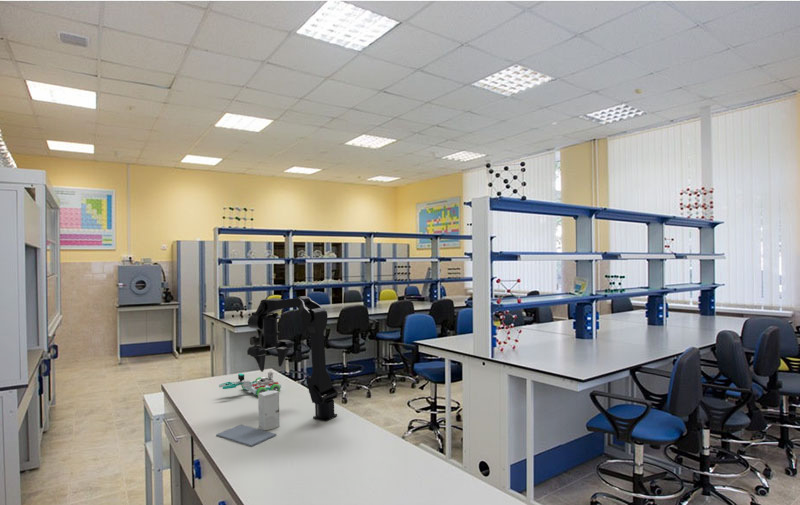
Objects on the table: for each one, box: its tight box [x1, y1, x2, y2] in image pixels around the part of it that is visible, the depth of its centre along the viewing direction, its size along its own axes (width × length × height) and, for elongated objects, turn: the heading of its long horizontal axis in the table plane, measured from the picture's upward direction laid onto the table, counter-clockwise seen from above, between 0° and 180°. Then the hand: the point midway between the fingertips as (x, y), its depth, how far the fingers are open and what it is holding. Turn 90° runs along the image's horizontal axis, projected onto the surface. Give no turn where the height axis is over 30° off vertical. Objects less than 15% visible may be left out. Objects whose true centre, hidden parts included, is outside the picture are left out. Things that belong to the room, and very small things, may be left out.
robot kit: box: [218, 371, 282, 397], centre depth 196 cm, size 19×25×9 cm
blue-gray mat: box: [215, 424, 277, 447], centre depth 148 cm, size 18×10×1 cm, turn 57°
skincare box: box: [257, 390, 281, 431], centre depth 155 cm, size 6×4×12 cm
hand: (271, 368), depth 178 cm, fingers open, 9 cm apart
